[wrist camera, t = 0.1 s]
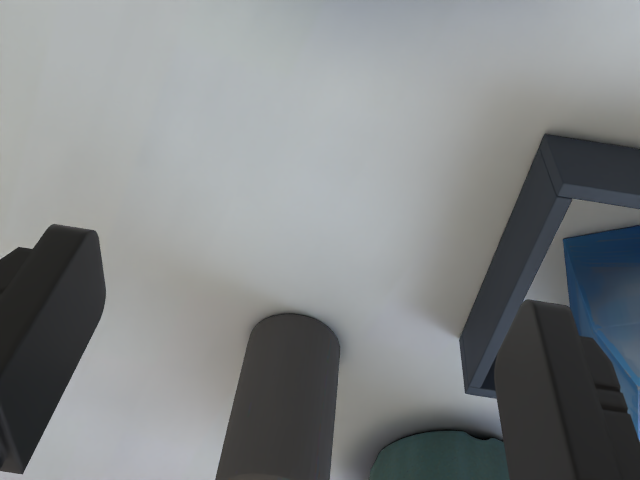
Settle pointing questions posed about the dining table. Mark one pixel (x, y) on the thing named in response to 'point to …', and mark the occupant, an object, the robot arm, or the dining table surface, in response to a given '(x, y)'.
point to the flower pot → (442, 458)
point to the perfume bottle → (609, 302)
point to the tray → (540, 238)
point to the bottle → (283, 403)
